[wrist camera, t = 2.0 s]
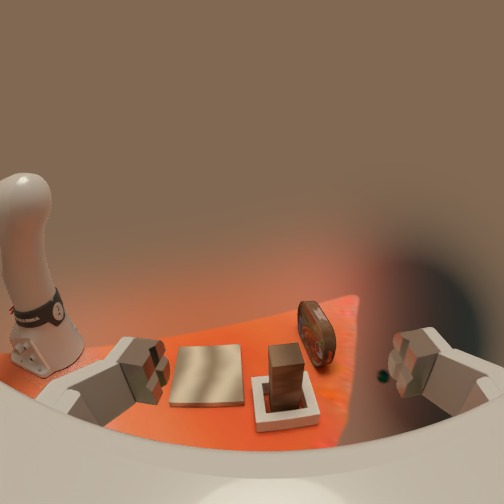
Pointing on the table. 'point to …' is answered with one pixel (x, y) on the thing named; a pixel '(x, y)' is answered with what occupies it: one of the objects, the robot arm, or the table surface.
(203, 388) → the board
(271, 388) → the peg
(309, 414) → the holder
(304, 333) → the tin
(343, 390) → the table surface
